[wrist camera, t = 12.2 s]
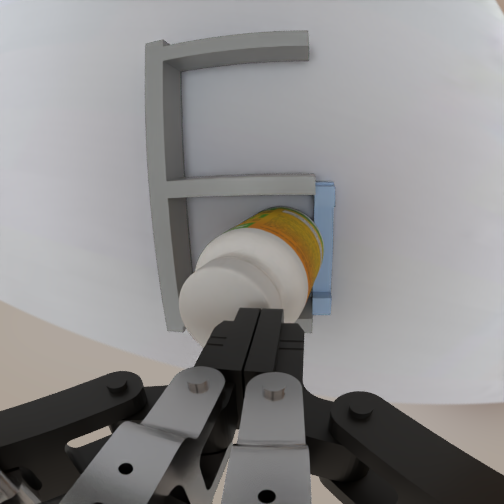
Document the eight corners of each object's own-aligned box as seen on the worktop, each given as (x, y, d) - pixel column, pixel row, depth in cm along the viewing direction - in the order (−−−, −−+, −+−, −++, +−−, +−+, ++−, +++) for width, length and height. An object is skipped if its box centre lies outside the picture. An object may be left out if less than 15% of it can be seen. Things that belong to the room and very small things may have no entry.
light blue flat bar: (313, 181, 20) (314, 183, 18) (332, 181, 19) (335, 184, 18) (311, 304, 22) (312, 316, 20) (328, 304, 22) (330, 317, 20)
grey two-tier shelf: (164, 55, 18) (145, 43, 16) (307, 40, 17) (307, 23, 14) (182, 311, 24) (167, 330, 21) (311, 317, 22) (311, 339, 20)
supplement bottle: (278, 187, 20) (207, 216, 11) (342, 246, 19) (323, 322, 11) (229, 247, 22) (143, 308, 13) (287, 300, 22) (235, 392, 13)
